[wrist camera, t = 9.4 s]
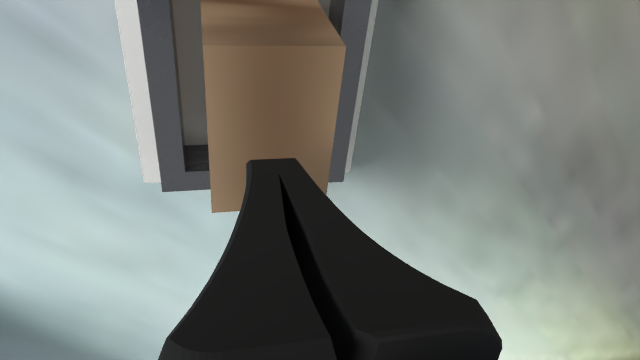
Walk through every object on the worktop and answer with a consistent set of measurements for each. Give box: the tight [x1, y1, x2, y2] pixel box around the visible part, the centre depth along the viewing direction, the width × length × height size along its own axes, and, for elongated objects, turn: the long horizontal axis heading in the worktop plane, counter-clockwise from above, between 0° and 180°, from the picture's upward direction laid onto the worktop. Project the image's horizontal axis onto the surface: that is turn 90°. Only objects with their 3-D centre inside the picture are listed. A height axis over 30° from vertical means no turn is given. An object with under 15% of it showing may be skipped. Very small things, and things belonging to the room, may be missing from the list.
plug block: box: [200, 0, 346, 213], centre depth 17 cm, size 4×6×6 cm, turn 174°
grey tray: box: [114, 0, 378, 192], centre depth 19 cm, size 10×12×3 cm
